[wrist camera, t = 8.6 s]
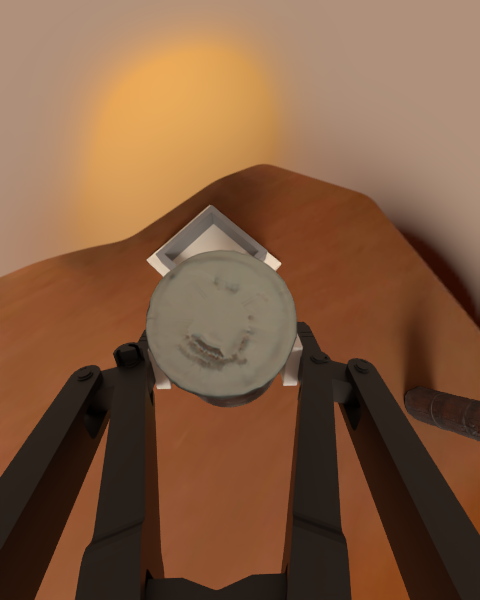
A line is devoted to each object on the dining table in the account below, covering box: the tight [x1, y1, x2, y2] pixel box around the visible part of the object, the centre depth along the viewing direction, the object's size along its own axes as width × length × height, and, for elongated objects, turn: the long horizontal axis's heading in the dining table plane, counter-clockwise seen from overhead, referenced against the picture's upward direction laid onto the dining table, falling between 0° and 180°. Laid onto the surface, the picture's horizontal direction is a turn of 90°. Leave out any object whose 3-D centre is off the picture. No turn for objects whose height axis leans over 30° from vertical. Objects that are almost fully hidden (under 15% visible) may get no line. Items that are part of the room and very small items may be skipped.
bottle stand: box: [147, 205, 281, 277], centre depth 41 cm, size 18×16×5 cm
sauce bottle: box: [146, 250, 297, 407], centre depth 15 cm, size 6×6×20 cm
